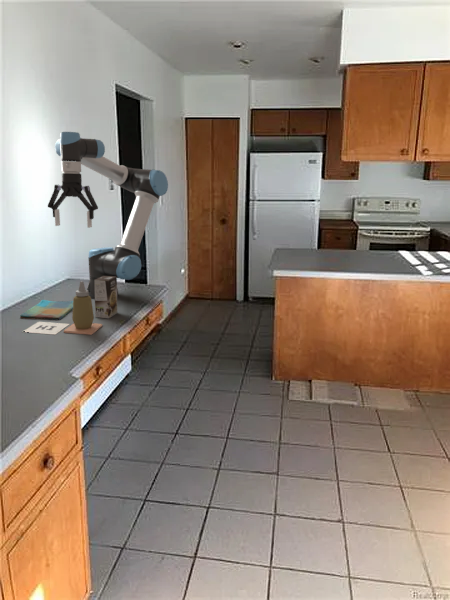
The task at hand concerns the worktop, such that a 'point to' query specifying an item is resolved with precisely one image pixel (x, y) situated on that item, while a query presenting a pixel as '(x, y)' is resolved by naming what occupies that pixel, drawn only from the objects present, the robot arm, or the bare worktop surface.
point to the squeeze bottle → (82, 308)
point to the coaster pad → (83, 331)
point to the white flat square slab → (46, 328)
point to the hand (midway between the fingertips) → (73, 226)
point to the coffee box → (105, 296)
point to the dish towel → (49, 310)
